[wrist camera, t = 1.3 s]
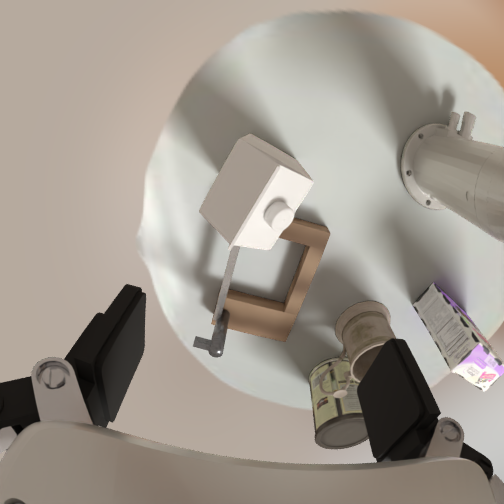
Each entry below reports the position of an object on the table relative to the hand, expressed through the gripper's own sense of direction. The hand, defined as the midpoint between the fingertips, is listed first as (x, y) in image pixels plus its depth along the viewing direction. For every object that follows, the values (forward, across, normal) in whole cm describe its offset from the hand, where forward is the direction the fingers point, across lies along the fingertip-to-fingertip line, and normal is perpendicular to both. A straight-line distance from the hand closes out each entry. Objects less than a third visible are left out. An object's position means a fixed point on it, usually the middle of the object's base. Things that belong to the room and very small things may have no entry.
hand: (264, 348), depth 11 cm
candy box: (+31, -37, +13) cm, 50 cm away
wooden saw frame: (+31, -4, +13) cm, 34 cm away
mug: (+31, -20, +20) cm, 42 cm away
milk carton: (+31, +1, -2) cm, 31 cm away
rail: (+31, +2, +12) cm, 33 cm away
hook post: (+29, +2, +20) cm, 35 cm away
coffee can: (+31, -22, +31) cm, 49 cm away
